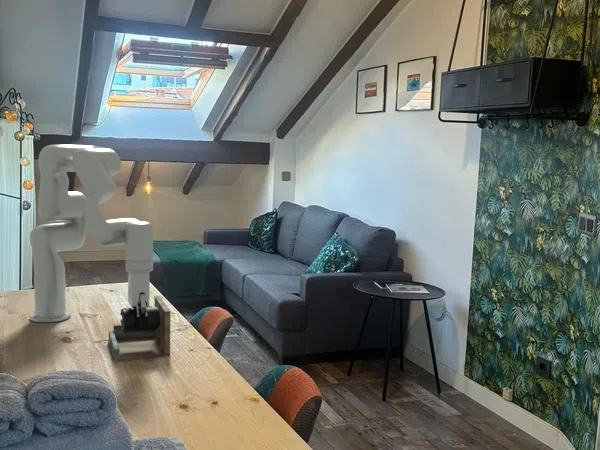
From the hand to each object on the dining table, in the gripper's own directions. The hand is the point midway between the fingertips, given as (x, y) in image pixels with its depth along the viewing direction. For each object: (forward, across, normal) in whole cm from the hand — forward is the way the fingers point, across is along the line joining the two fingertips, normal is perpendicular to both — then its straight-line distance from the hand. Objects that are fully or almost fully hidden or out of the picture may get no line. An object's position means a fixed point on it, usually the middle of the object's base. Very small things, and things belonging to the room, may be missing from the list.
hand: (139, 326), depth 174 cm
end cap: (+2, 0, 0) cm, 2 cm away
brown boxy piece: (+8, -3, 0) cm, 8 cm away
